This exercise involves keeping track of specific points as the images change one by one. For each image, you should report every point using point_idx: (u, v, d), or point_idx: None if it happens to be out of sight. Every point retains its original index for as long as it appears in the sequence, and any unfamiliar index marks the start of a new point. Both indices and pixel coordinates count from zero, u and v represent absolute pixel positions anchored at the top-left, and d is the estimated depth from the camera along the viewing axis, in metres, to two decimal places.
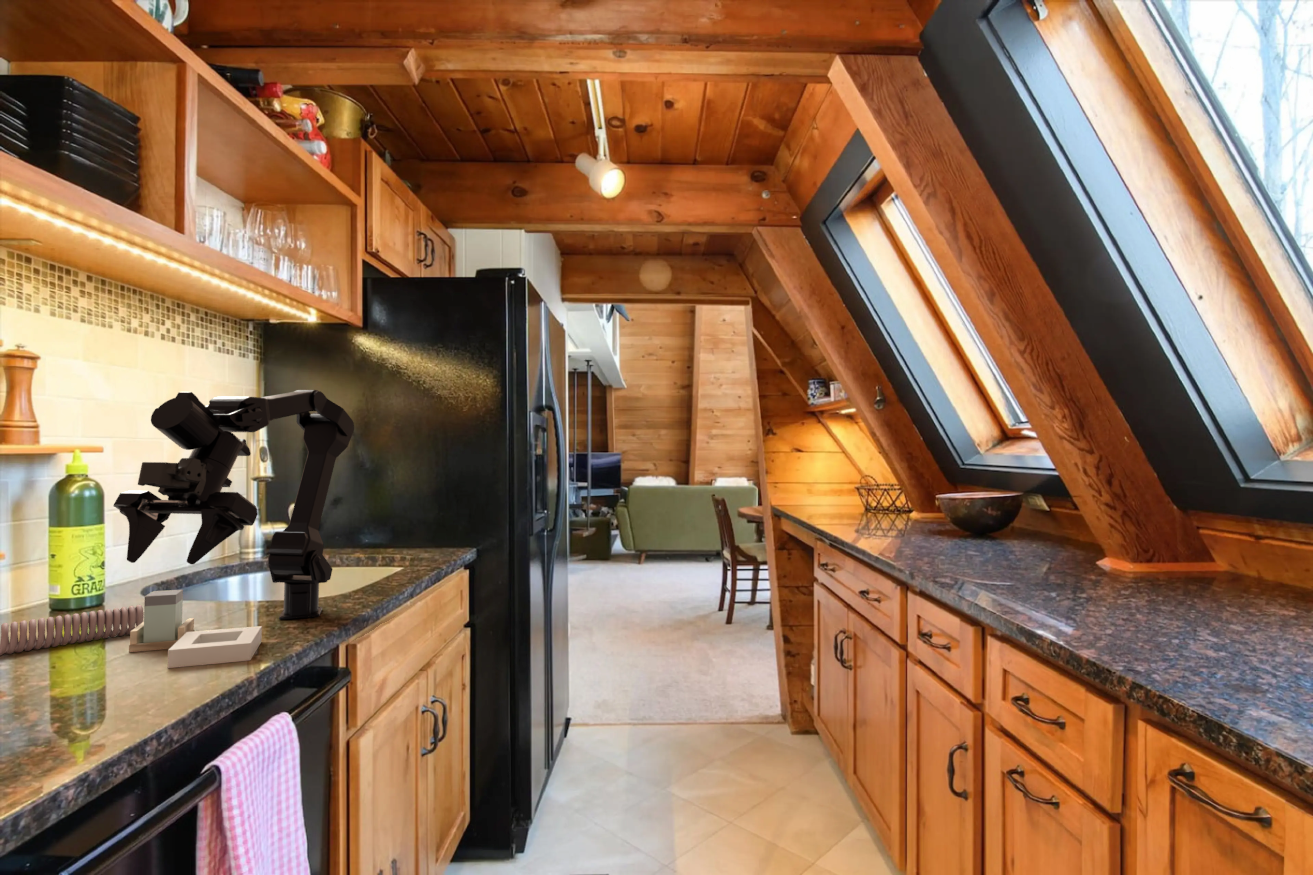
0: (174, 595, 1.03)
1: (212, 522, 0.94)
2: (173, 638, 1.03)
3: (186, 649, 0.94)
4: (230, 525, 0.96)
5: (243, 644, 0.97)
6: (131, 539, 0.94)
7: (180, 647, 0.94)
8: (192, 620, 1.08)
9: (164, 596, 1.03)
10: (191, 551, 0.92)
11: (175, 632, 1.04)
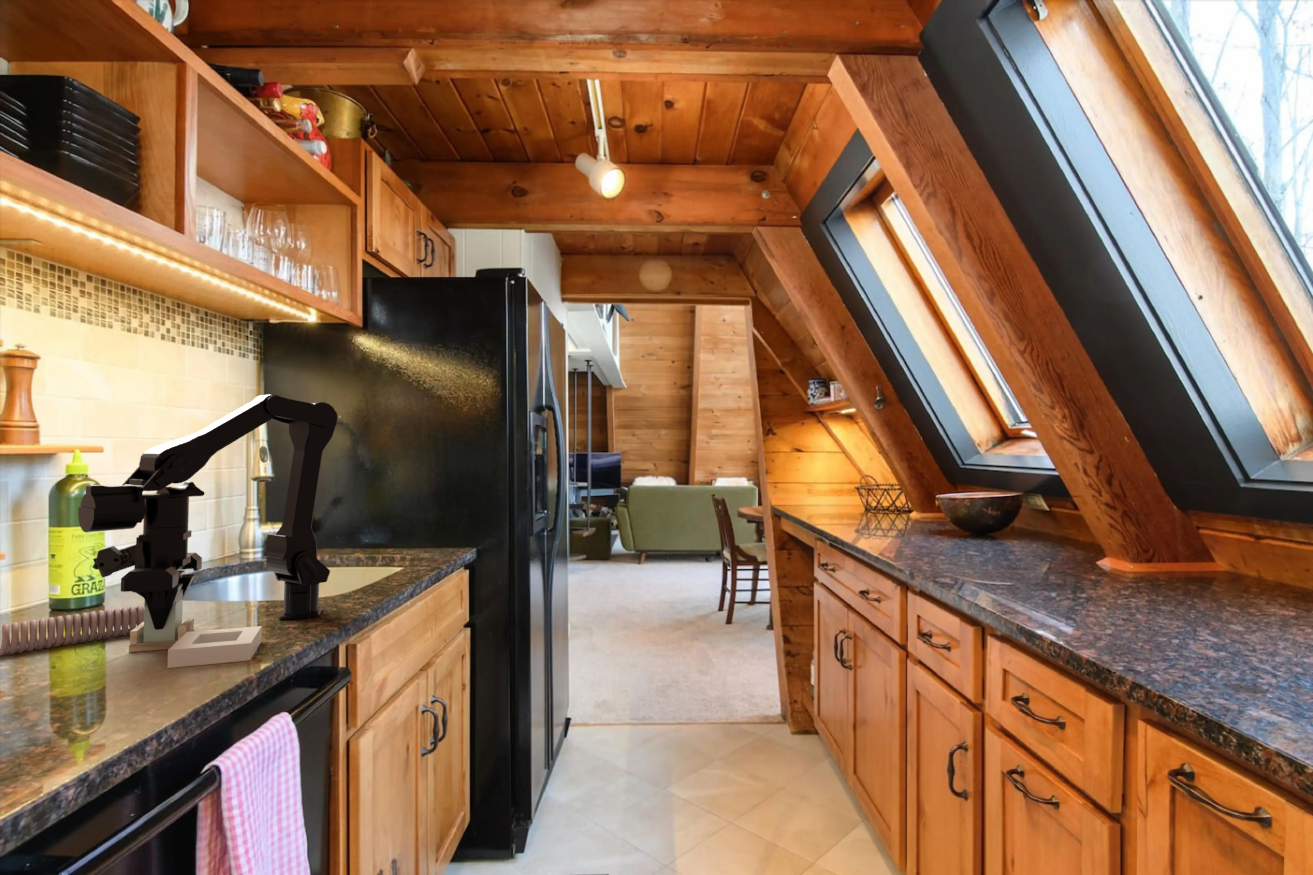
0: None
1: (143, 596, 1.00)
2: (173, 638, 1.03)
3: (186, 649, 0.94)
4: None
5: (243, 644, 0.97)
6: None
7: (180, 647, 0.94)
8: (192, 620, 1.08)
9: None
10: (152, 620, 1.02)
11: (175, 632, 1.04)
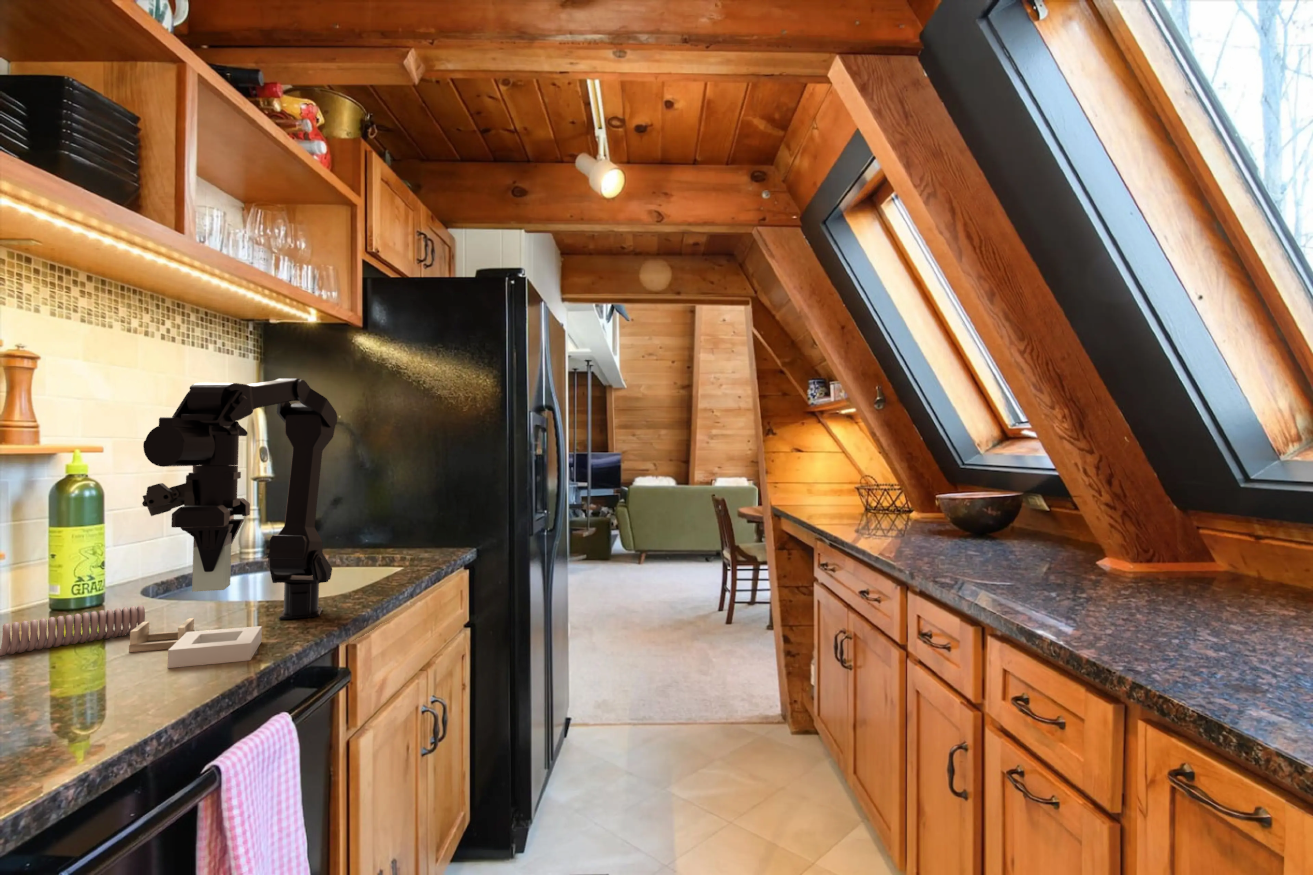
0: None
1: (193, 536, 0.96)
2: (222, 581, 0.99)
3: (186, 649, 0.94)
4: None
5: (243, 644, 0.97)
6: None
7: (180, 647, 0.94)
8: (192, 620, 1.08)
9: None
10: None
11: (224, 575, 0.99)
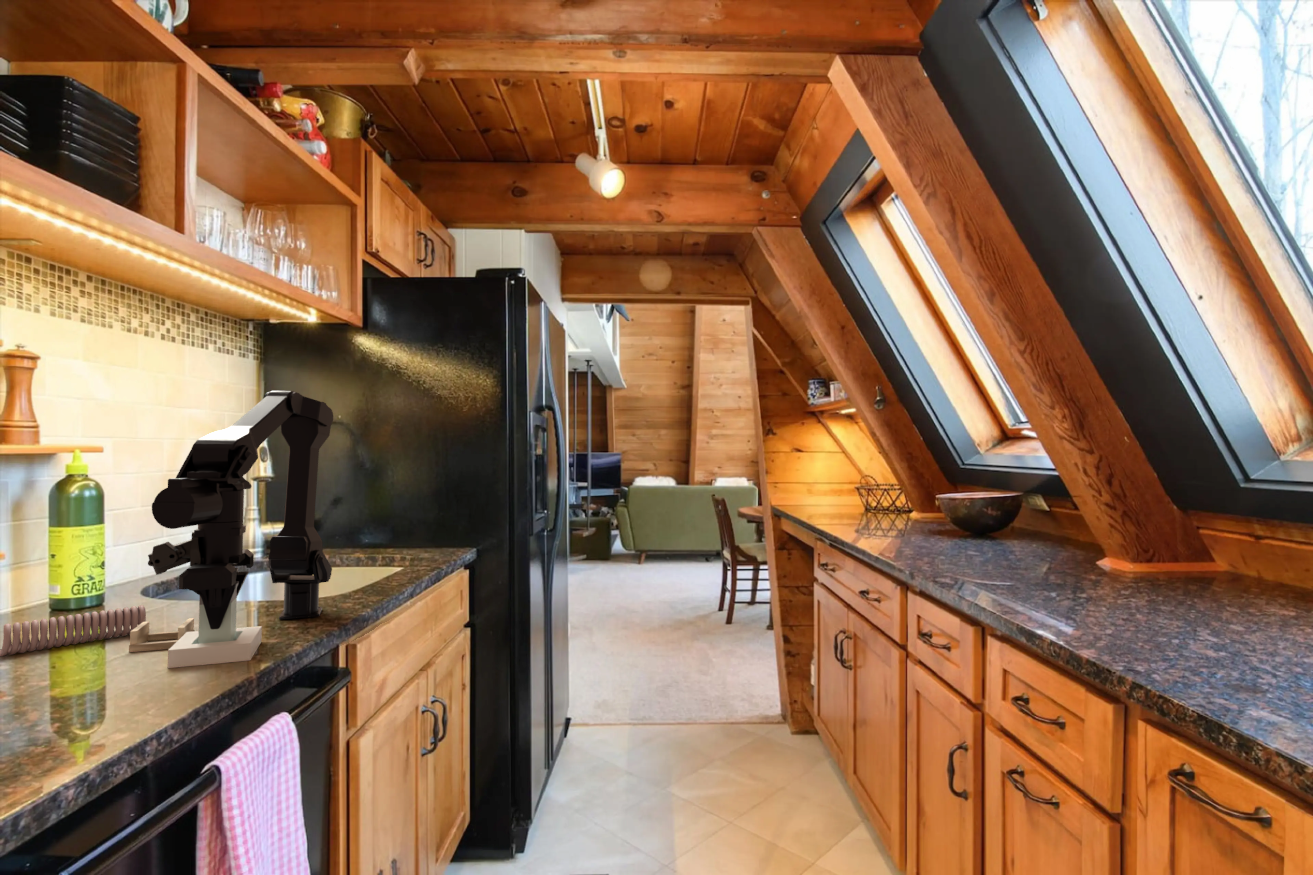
0: None
1: (199, 594, 0.95)
2: (229, 638, 0.98)
3: (186, 649, 0.94)
4: None
5: (243, 644, 0.97)
6: None
7: (180, 647, 0.94)
8: (192, 620, 1.08)
9: None
10: (208, 619, 0.97)
11: (231, 632, 0.99)
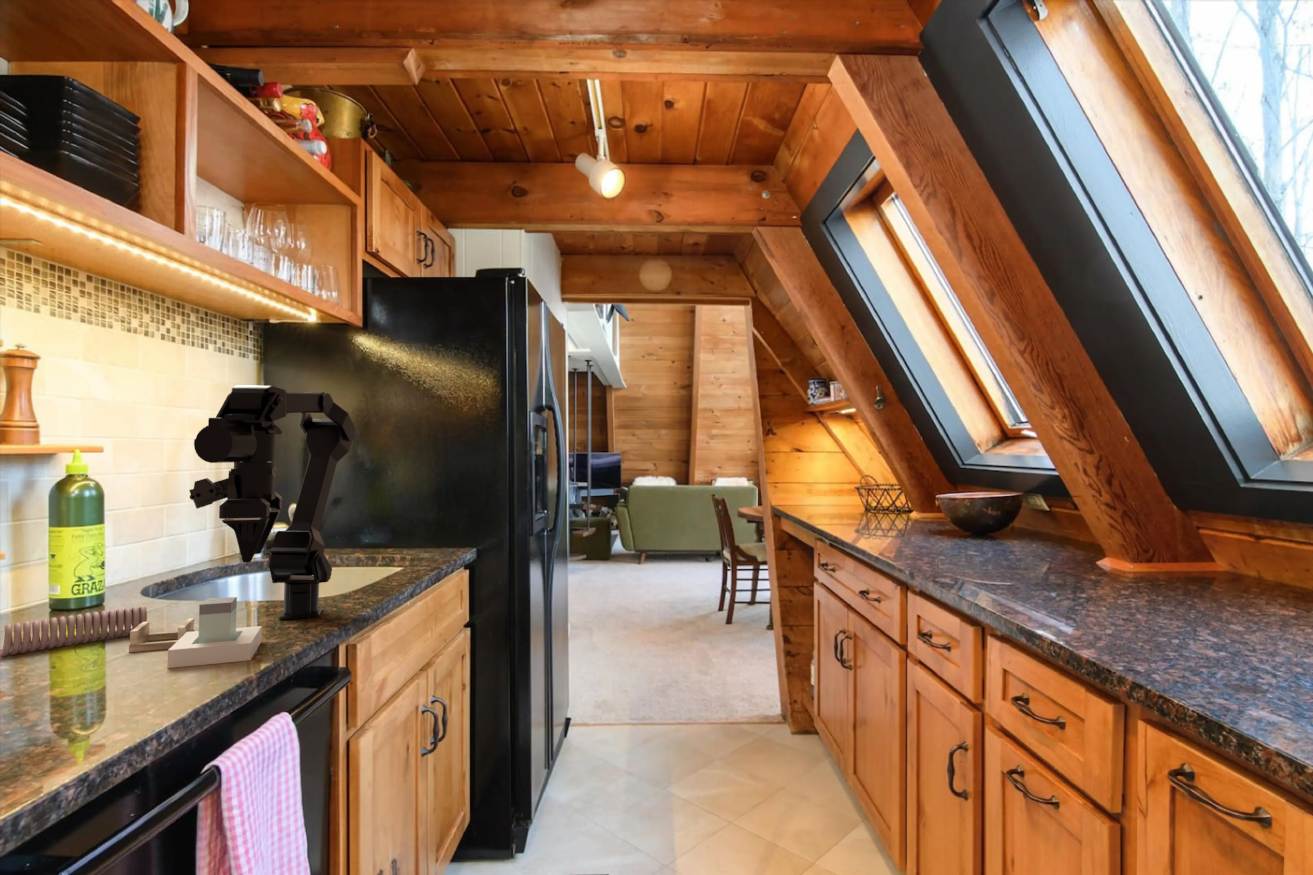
0: (229, 603, 0.99)
1: (233, 528, 1.02)
2: None
3: (186, 649, 0.94)
4: None
5: (243, 644, 0.97)
6: None
7: (180, 647, 0.94)
8: (192, 620, 1.08)
9: (219, 604, 0.98)
10: (241, 553, 1.04)
11: None
